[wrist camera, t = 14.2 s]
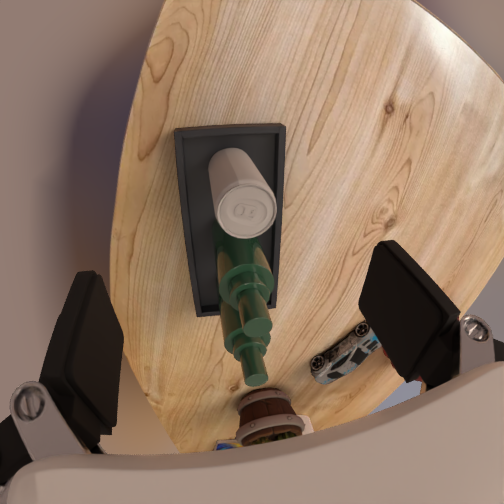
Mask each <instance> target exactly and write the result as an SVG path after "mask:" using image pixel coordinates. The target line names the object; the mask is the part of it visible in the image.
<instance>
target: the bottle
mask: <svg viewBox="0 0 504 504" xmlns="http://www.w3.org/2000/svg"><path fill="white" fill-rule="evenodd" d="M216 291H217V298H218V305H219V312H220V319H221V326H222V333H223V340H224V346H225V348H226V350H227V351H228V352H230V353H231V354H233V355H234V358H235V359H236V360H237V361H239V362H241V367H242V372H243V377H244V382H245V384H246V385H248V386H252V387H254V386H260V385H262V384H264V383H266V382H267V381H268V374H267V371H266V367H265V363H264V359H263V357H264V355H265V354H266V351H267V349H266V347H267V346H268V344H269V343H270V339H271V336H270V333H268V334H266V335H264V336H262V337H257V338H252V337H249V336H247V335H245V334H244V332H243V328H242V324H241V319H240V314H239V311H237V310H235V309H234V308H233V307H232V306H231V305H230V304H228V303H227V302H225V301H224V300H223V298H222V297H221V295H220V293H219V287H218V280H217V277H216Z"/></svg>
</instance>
